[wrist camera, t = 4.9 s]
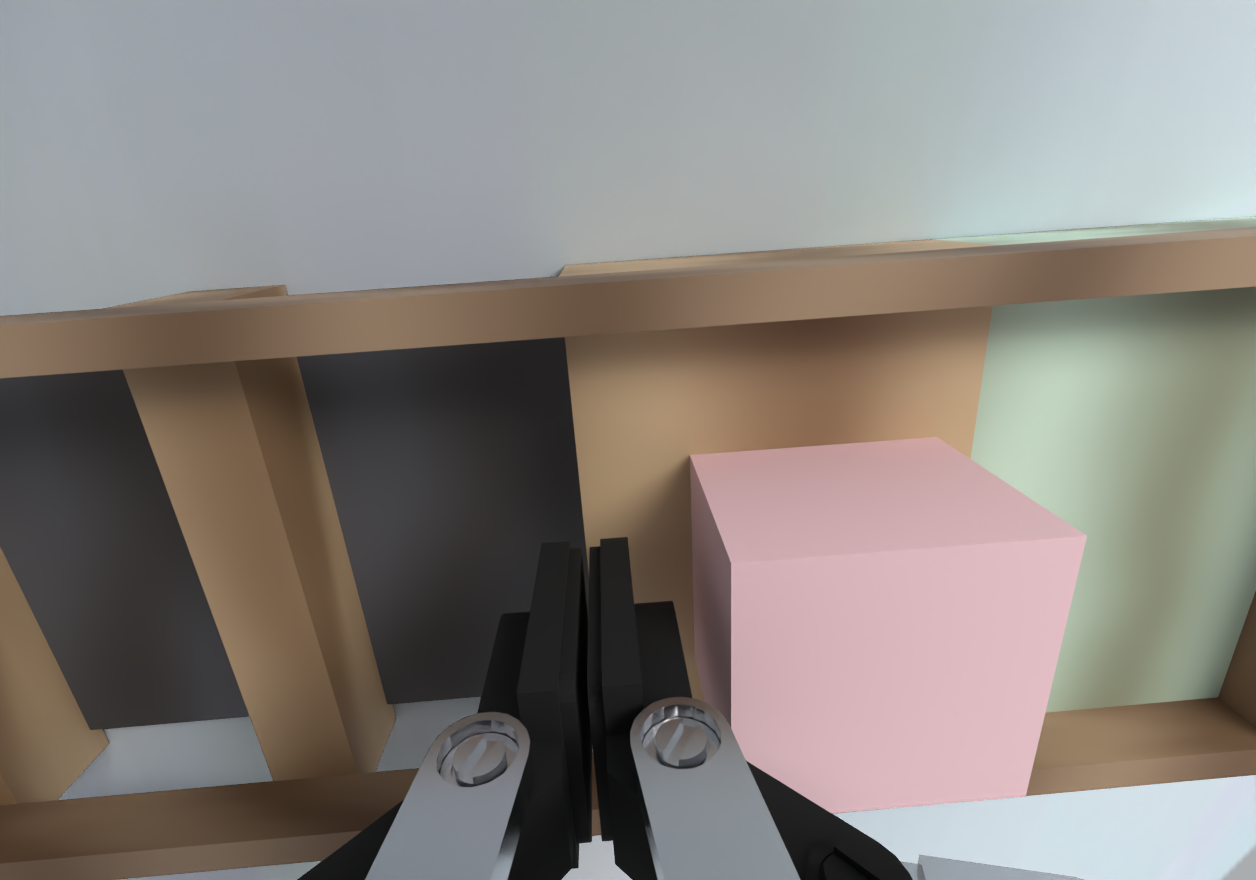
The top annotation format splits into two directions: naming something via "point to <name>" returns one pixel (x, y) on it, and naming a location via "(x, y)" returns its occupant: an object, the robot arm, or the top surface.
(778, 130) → the top surface
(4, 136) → the top surface
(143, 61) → the top surface
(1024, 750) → the rose block
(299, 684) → the box
